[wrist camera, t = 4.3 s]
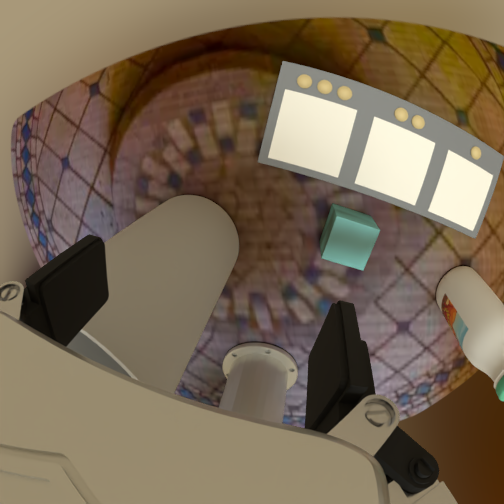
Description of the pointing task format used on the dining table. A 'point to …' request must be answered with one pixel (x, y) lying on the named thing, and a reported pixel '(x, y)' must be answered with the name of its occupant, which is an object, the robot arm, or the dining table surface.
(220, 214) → the cylinder vase
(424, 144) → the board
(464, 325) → the milk bottle
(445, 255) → the dining table surface
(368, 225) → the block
